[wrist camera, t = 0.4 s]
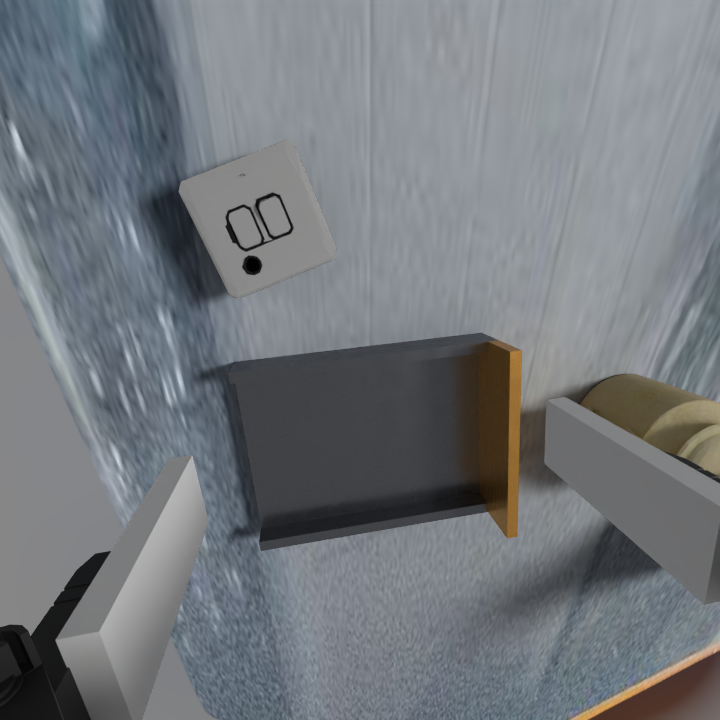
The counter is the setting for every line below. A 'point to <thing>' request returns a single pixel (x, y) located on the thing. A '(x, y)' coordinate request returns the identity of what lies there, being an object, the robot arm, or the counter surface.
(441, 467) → the drawer
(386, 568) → the counter surface
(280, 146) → the electrical switch
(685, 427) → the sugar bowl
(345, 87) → the counter surface
